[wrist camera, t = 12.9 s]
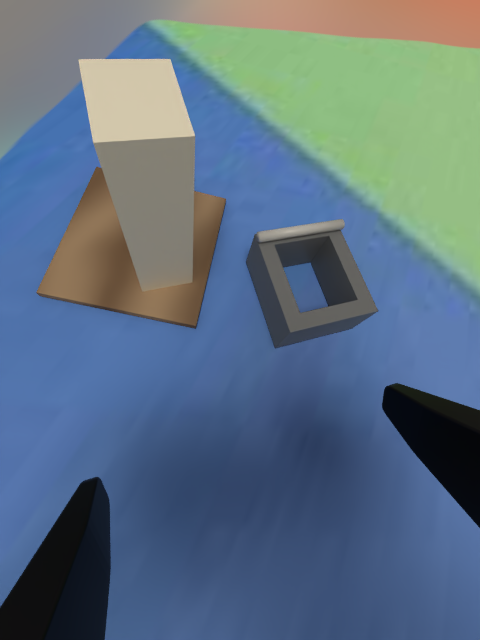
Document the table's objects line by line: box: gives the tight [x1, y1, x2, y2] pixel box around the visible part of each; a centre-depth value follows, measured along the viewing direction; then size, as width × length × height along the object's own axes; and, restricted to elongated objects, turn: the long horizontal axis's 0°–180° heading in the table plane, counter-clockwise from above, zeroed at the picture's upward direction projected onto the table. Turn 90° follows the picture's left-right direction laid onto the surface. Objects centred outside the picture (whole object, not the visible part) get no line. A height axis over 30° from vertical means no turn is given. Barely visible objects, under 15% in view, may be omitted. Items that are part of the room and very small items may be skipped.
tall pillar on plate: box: [79, 59, 195, 292], centre depth 19 cm, size 5×4×13 cm
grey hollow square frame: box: [246, 219, 378, 348], centre depth 24 cm, size 8×7×5 cm
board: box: [36, 167, 226, 328], centre depth 26 cm, size 12×13×1 cm
